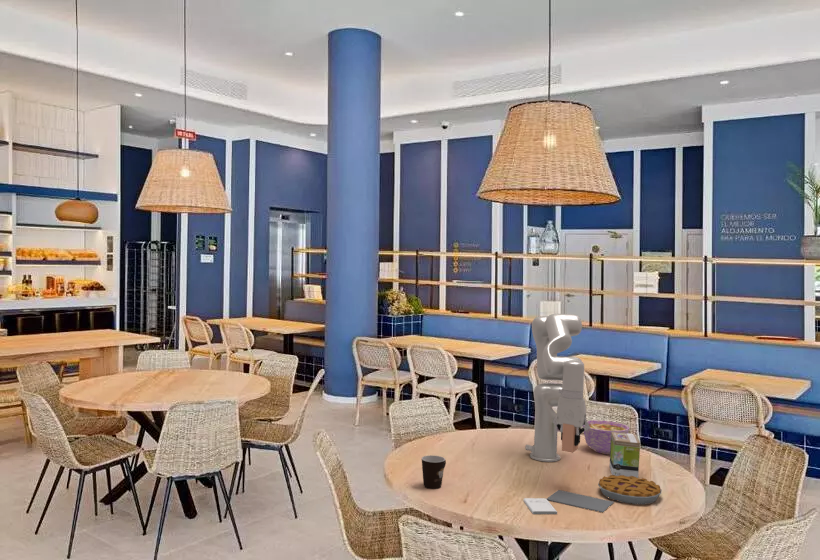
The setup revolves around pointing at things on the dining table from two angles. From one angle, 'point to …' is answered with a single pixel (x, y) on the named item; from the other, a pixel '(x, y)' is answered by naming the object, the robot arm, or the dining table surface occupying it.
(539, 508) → the external hard drive
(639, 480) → the pie
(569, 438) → the block
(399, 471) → the dining table surface
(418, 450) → the dining table surface
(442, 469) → the coffee mug
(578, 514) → the dining table surface
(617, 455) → the tea box
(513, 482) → the dining table surface
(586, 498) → the mat
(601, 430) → the bowl of food
